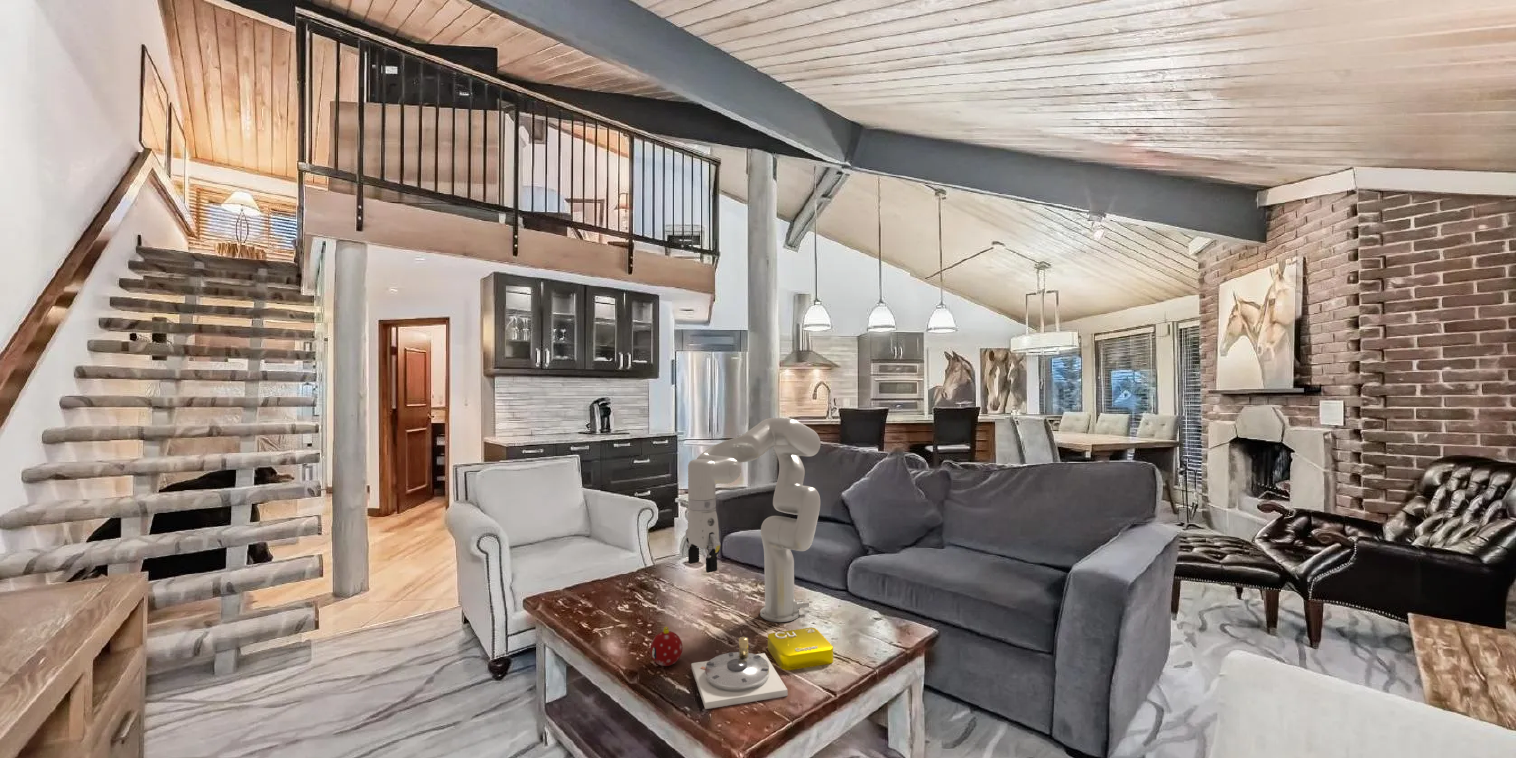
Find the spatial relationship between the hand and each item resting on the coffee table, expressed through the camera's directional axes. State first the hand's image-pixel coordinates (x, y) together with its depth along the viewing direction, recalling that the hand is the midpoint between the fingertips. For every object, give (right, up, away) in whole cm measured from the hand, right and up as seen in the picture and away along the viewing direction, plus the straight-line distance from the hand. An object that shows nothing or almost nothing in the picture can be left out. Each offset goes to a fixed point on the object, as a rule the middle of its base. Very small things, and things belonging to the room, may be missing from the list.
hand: (702, 566), depth 164 cm
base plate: (+10, -25, -14) cm, 30 cm away
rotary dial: (+10, -23, -14) cm, 28 cm away
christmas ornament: (-9, -25, -4) cm, 27 cm away
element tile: (+27, -25, 0) cm, 37 cm away
